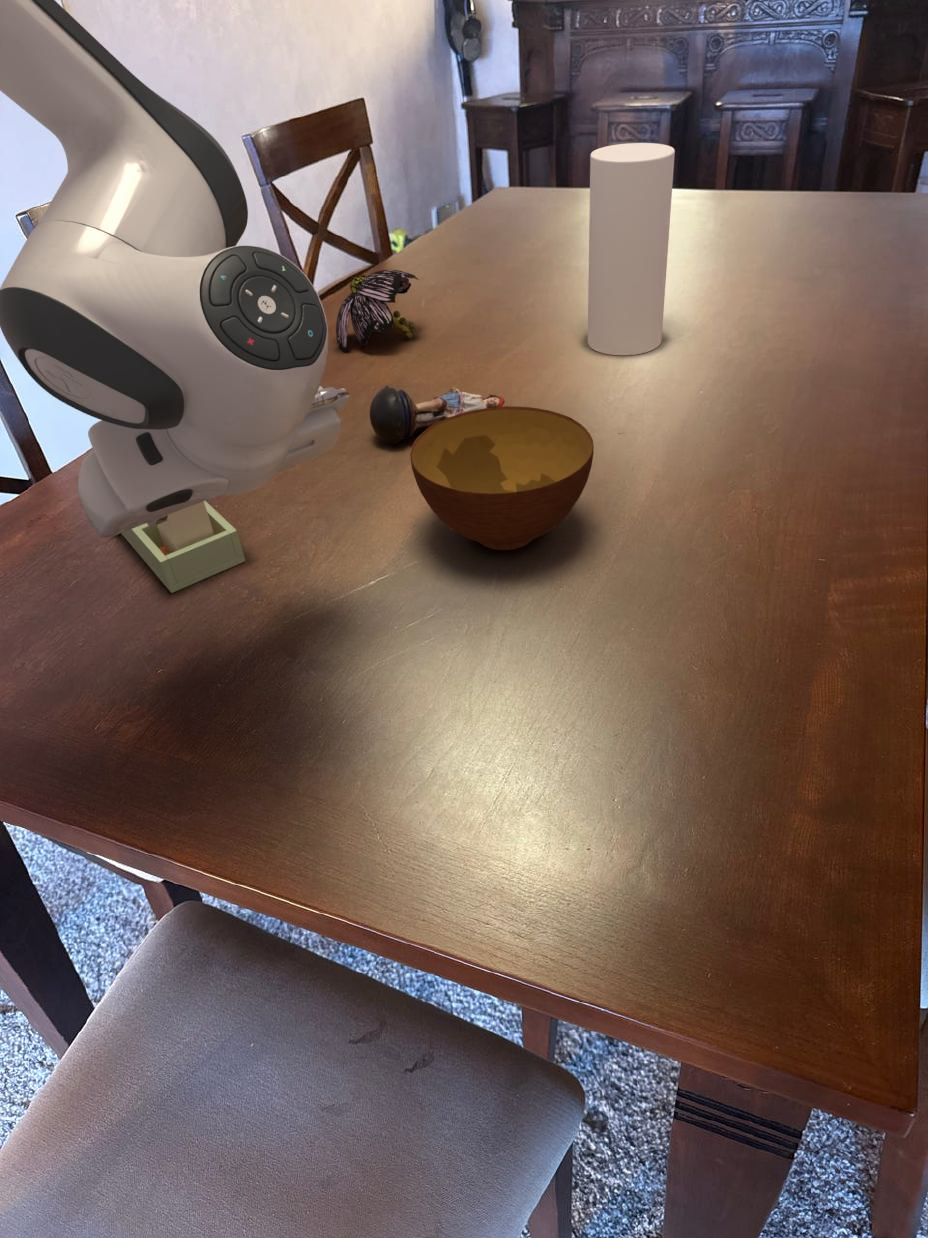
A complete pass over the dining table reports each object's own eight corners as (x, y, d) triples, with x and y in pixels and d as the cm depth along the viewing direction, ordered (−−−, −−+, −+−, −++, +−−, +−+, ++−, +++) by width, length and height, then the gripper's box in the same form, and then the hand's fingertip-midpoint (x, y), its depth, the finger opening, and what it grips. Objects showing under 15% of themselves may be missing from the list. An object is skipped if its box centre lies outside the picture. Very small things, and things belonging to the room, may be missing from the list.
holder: (171, 593, 85) (160, 562, 83) (119, 531, 95) (107, 501, 93) (245, 561, 89) (236, 530, 87) (187, 504, 99) (178, 475, 97)
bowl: (586, 588, 81) (587, 496, 75) (404, 580, 84) (391, 491, 78) (596, 491, 94) (598, 406, 88) (438, 487, 98) (430, 405, 91)
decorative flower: (350, 258, 136) (419, 238, 126) (388, 321, 143) (456, 307, 133) (299, 313, 129) (368, 297, 120) (342, 377, 136) (410, 366, 127)
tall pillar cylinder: (573, 345, 127) (573, 156, 111) (614, 322, 133) (621, 139, 117) (634, 361, 121) (644, 163, 105) (675, 336, 127) (690, 145, 111)
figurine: (363, 374, 105) (501, 362, 110) (361, 419, 110) (494, 405, 115) (378, 412, 100) (522, 398, 105) (376, 457, 105) (513, 441, 110)
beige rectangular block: (183, 569, 87) (157, 492, 81) (165, 549, 90) (138, 473, 84) (220, 554, 88) (196, 477, 83) (200, 534, 92) (176, 459, 86)
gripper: (335, 346, 65) (297, 423, 77) (63, 434, 56) (70, 505, 68) (374, 420, 65) (330, 485, 77) (108, 519, 56) (107, 575, 68)
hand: (206, 495), depth 73 cm, fingers open, 8 cm apart
